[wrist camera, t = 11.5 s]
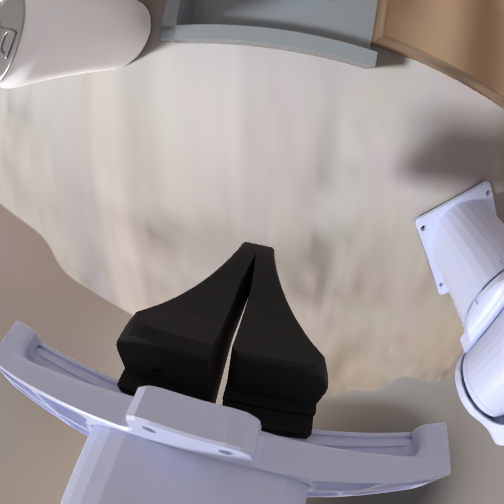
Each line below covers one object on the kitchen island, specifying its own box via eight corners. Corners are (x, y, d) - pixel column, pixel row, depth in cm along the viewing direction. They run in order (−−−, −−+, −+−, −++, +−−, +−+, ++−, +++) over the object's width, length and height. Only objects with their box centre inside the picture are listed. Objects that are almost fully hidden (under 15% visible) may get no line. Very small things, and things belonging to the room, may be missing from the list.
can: (115, -10, 13) (-1, -24, 3) (169, 15, 14) (48, -10, 5) (79, 52, 16) (-37, 75, 6) (125, 82, 18) (1, 115, 8)
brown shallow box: (520, 17, 7) (548, 16, 4) (509, 113, 13) (538, 124, 10) (382, -60, 8) (395, -81, 5) (369, 43, 14) (384, 35, 10)
